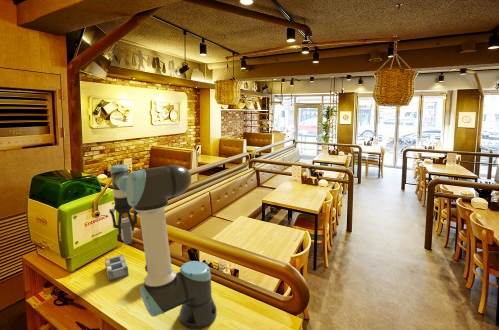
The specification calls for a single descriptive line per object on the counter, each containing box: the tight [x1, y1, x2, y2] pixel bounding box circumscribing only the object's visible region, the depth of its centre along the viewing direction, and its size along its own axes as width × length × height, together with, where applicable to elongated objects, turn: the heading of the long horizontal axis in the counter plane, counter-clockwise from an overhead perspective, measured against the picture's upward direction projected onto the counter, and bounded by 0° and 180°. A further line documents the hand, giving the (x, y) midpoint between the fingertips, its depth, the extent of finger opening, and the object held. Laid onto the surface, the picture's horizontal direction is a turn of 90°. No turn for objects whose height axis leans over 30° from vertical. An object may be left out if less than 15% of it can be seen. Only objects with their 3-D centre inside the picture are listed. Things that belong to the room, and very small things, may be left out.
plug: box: [121, 217, 133, 245], centre depth 147 cm, size 4×4×13 cm
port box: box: [104, 254, 130, 283], centre depth 148 cm, size 14×9×5 cm, turn 33°
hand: (127, 237), depth 148 cm, fingers closed on plug, 4 cm apart
